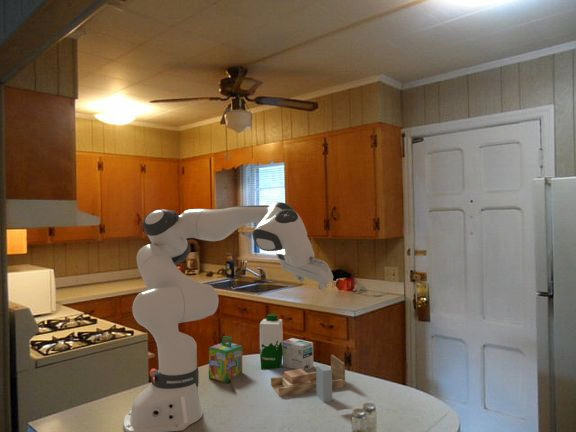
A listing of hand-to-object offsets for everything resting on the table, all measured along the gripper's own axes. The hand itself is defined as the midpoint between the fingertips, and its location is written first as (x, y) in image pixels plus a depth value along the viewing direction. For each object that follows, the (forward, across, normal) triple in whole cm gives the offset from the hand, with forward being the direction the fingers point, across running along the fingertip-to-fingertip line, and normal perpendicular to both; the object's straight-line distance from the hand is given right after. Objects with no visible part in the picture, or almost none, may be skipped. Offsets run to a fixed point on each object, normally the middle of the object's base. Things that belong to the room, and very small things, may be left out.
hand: (311, 284), depth 148 cm
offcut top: (+24, -2, +22) cm, 33 cm away
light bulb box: (+39, +11, +12) cm, 42 cm away
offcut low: (+26, -2, +24) cm, 35 cm away
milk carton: (+37, +21, +18) cm, 46 cm away
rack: (+29, -4, +21) cm, 36 cm away
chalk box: (+27, +25, +34) cm, 50 cm away
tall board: (+25, -15, +24) cm, 37 cm away
